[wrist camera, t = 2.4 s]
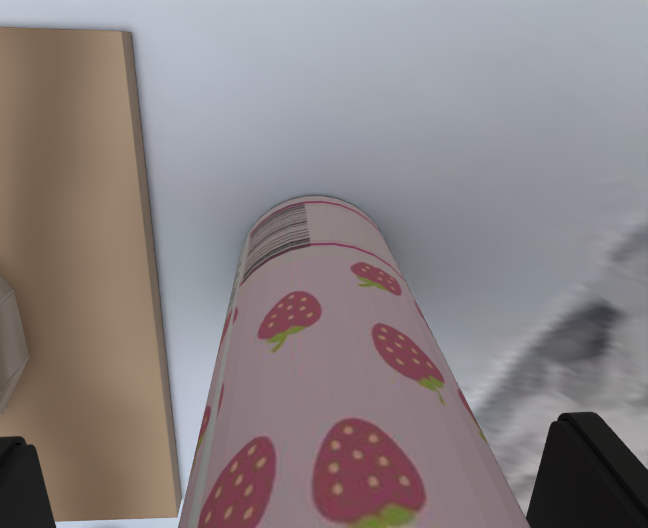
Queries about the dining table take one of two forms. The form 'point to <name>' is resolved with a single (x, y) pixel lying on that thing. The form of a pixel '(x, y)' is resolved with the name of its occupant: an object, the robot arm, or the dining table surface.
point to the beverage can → (335, 393)
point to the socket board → (81, 278)
